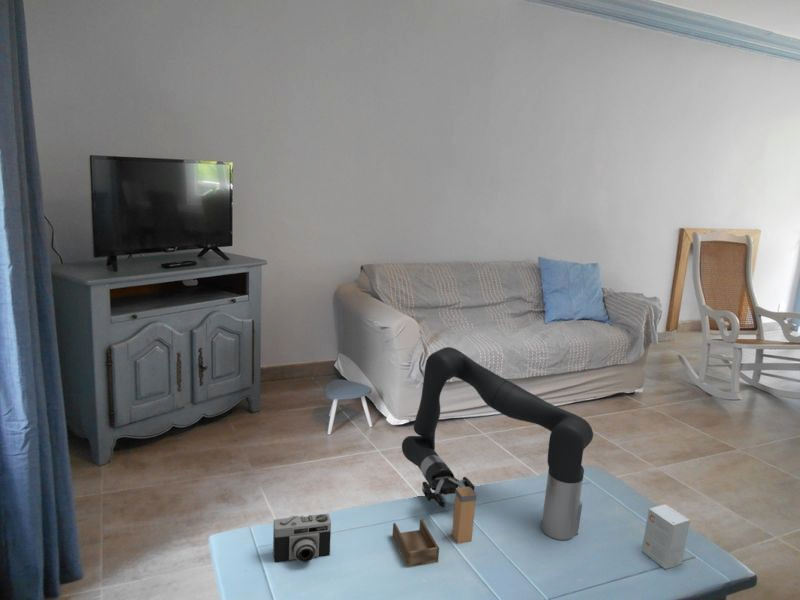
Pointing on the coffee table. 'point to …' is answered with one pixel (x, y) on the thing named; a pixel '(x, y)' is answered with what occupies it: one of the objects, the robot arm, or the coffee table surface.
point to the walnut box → (416, 545)
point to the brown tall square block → (463, 514)
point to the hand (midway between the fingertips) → (458, 502)
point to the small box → (665, 536)
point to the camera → (301, 538)
